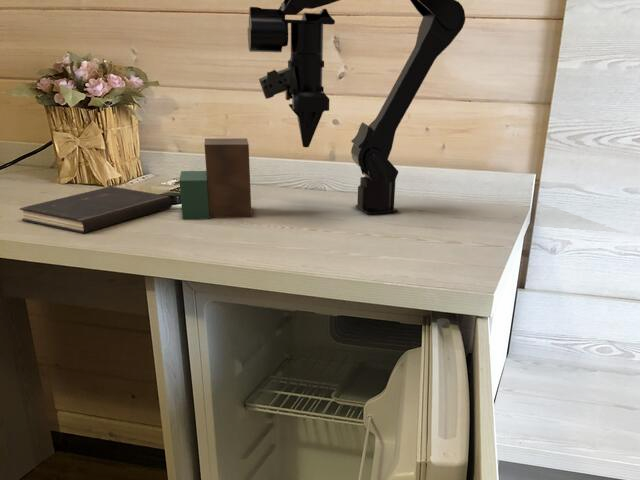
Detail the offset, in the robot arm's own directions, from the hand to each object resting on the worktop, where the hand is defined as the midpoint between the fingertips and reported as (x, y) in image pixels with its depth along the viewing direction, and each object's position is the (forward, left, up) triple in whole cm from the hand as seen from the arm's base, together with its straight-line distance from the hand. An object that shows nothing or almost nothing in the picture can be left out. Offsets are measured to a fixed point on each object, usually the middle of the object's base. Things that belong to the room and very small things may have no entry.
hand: (305, 147), depth 139 cm
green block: (+20, -6, -12) cm, 24 cm away
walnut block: (+14, -4, -12) cm, 19 cm away
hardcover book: (+38, -11, -12) cm, 41 cm away
